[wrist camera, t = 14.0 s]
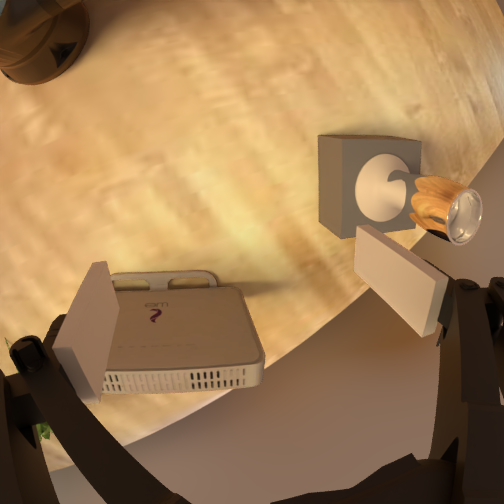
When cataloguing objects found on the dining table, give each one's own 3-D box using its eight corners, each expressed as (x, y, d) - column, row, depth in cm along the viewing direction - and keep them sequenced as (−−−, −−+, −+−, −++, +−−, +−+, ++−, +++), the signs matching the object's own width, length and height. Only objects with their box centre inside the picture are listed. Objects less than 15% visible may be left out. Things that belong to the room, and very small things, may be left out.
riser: (317, 135, 46) (343, 139, 38) (391, 136, 48) (422, 141, 41) (318, 221, 52) (342, 240, 44) (388, 213, 54) (416, 229, 46)
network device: (237, 268, 52) (270, 347, 34) (236, 313, 55) (264, 399, 37) (82, 274, 46) (42, 354, 28) (91, 319, 50) (65, 405, 32)
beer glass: (370, 165, 41) (447, 191, 27) (409, 160, 41) (485, 183, 28) (373, 213, 43) (443, 254, 30) (409, 205, 44) (480, 240, 31)
